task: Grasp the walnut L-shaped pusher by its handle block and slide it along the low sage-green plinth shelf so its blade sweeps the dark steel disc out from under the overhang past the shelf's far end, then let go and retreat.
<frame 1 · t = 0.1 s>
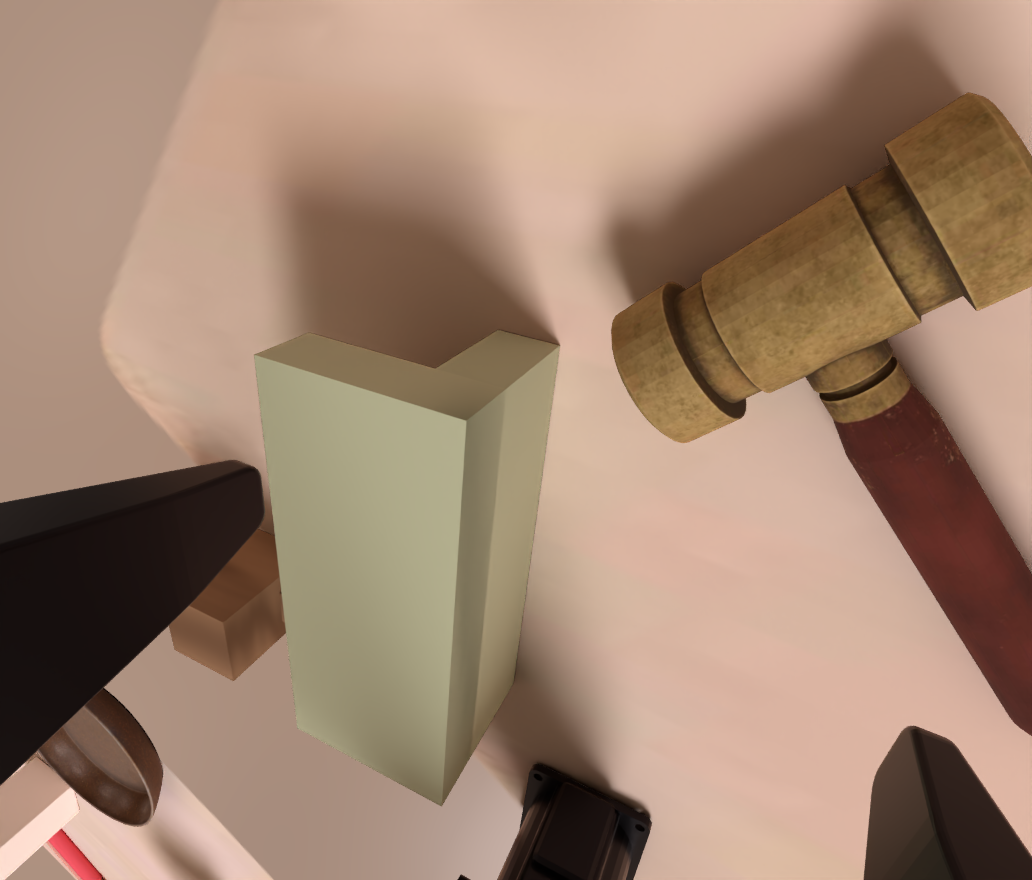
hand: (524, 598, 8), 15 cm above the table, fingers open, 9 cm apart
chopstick: (109, 879, 83), on the table
milk: (60, 782, 73), on the table
plant saucer: (111, 726, 59), on the table
gavel: (938, 494, 20), on the table
plinth shelf: (456, 513, 28), on the table
pusher tool: (284, 566, 36), on the table
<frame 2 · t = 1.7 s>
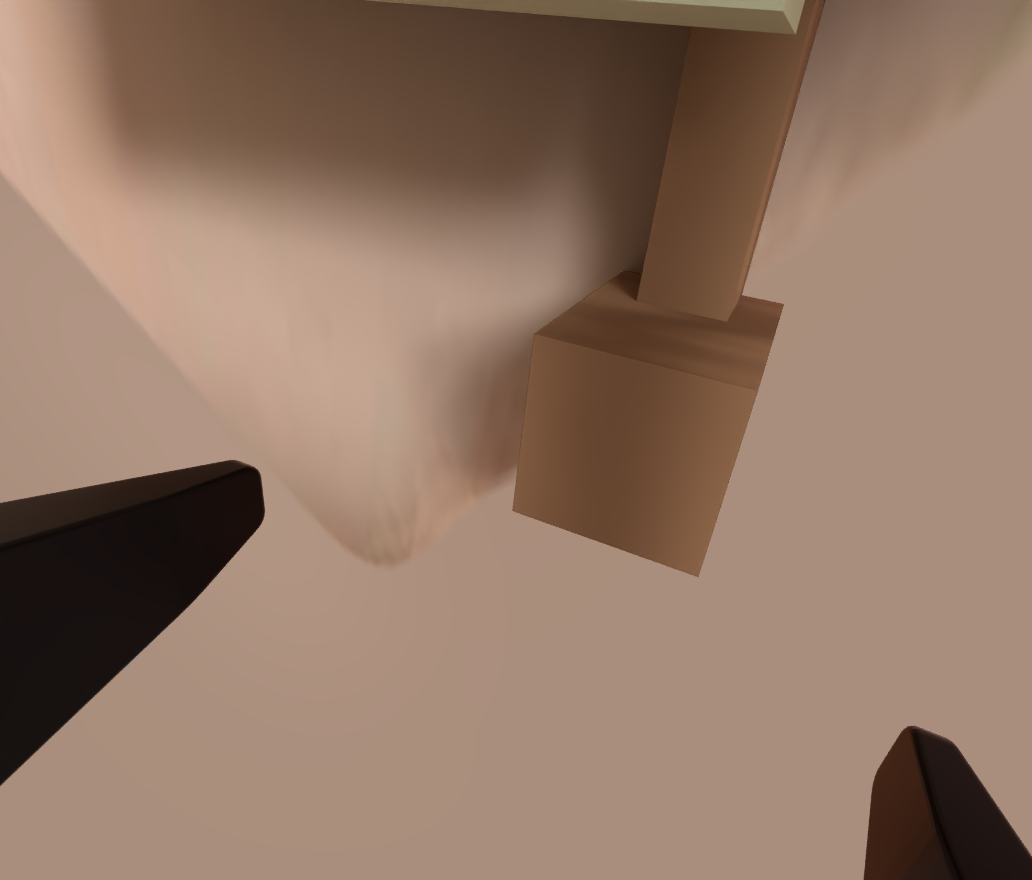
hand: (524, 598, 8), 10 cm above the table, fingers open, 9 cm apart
pusher tool: (682, 360, 17), on the table
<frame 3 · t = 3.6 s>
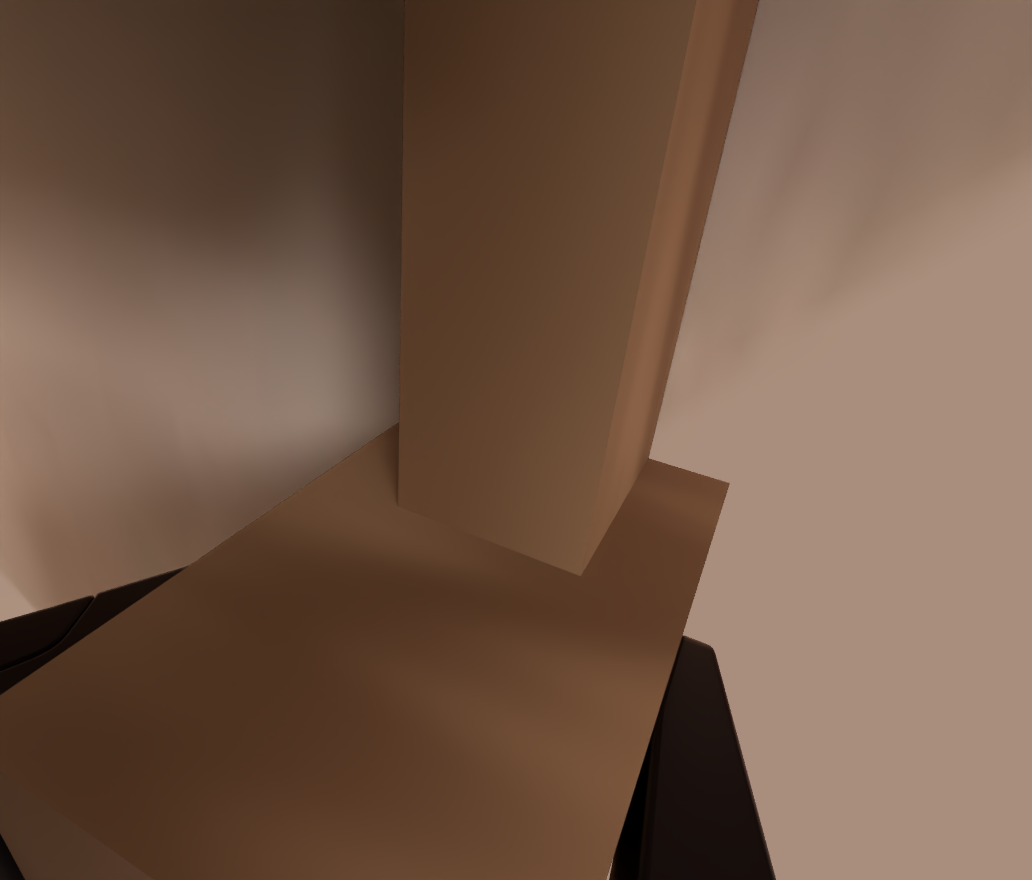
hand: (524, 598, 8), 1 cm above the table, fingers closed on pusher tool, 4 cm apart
pusher tool: (553, 555, 9), on the table, touching gripper
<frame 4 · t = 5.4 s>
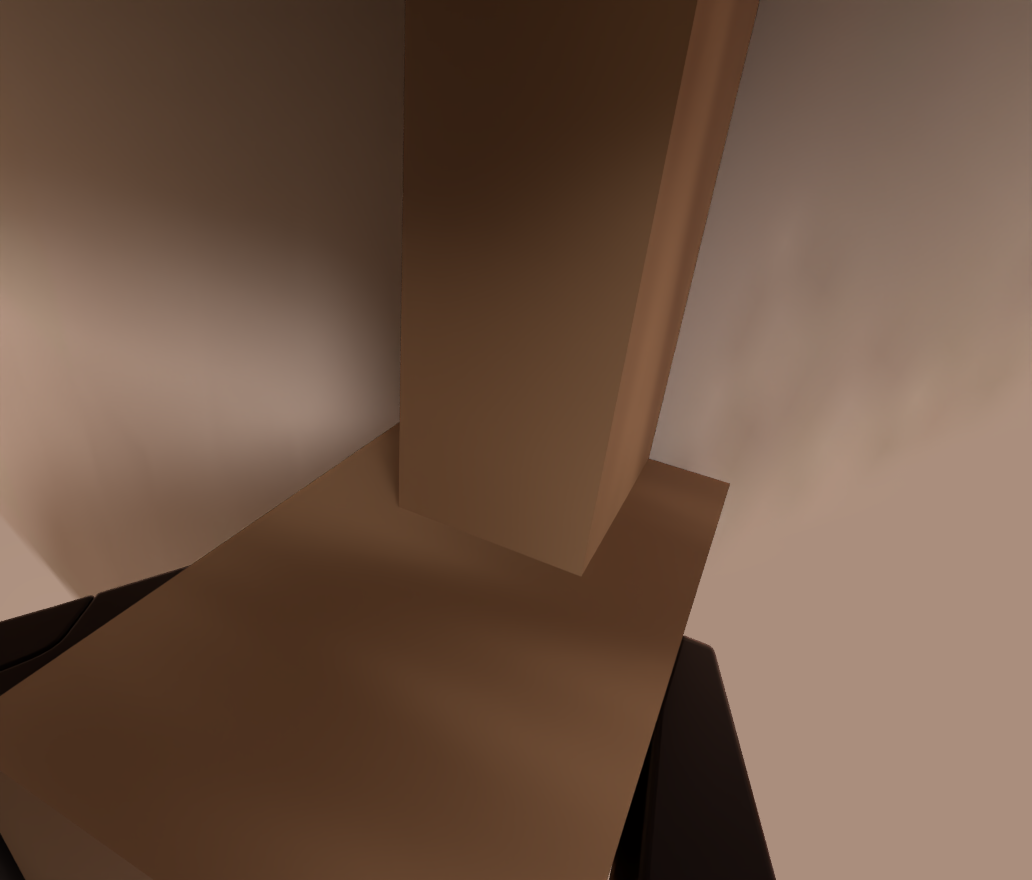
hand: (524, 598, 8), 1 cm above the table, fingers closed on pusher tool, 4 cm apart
pusher tool: (553, 555, 9), on the table, touching gripper
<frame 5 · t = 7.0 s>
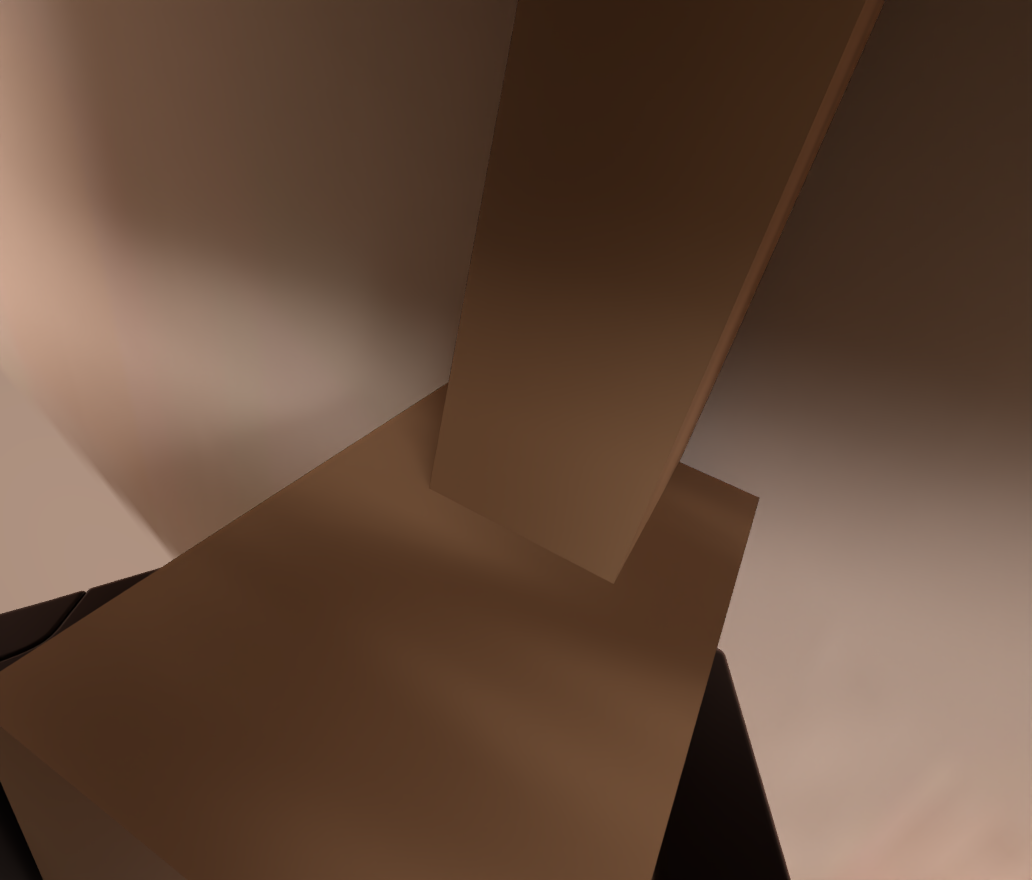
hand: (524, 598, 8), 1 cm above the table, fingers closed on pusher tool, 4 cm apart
pusher tool: (564, 543, 9), on the table, touching gripper, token
when the fingers open (1 cm above the table, at t = 10.4 s): pusher tool stays where it is, on the table.
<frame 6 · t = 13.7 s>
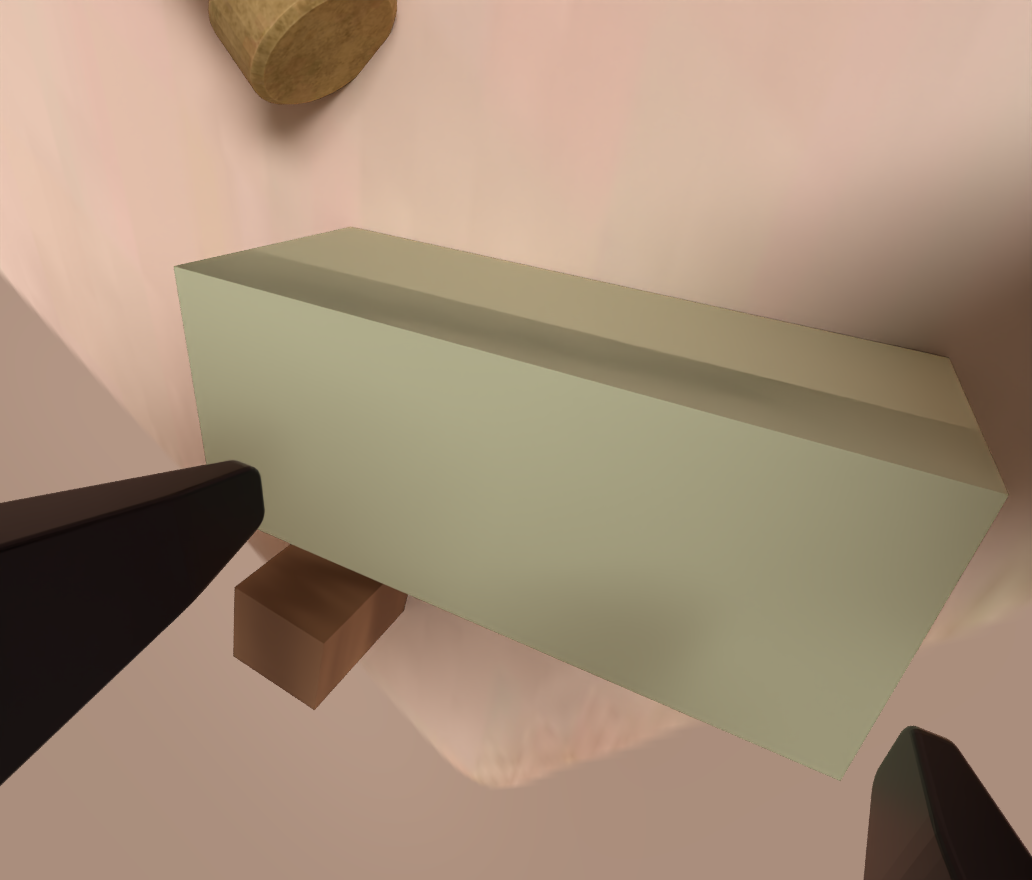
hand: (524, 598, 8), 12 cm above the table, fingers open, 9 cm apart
plinth shelf: (583, 397, 20), on the table
pusher tool: (373, 558, 28), on the table
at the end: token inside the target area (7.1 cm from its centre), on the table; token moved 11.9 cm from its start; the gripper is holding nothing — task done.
